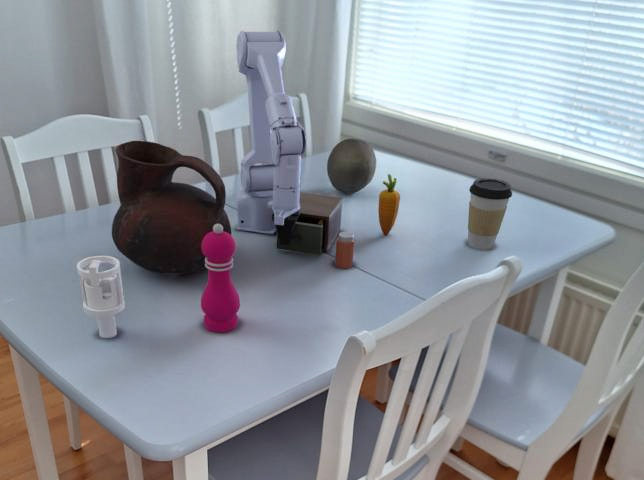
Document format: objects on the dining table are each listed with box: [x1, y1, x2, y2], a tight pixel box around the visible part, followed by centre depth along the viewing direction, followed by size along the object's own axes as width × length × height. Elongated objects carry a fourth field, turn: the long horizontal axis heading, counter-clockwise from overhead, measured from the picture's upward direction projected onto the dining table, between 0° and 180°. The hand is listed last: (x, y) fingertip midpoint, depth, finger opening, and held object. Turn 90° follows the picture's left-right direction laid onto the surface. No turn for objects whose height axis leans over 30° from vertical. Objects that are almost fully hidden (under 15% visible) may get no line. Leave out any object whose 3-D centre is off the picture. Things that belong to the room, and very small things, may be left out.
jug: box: [111, 140, 233, 275], centre depth 140 cm, size 25×25×25 cm
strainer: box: [76, 255, 126, 339], centre depth 117 cm, size 7×7×15 cm
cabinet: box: [298, 191, 343, 253], centre depth 160 cm, size 14×12×9 cm
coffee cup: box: [467, 177, 513, 251], centre depth 159 cm, size 10×10×15 cm
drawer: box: [275, 216, 326, 256], centre depth 155 cm, size 14×10×7 cm
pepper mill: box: [200, 224, 241, 333], centre depth 120 cm, size 7×7×20 cm
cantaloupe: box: [326, 138, 377, 195], centre depth 186 cm, size 14×14×15 cm
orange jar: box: [334, 231, 356, 269], centre depth 148 cm, size 4×4×7 cm
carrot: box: [378, 173, 401, 237], centre depth 161 cm, size 5×5×15 cm
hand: (285, 243), depth 150 cm, fingers closed
